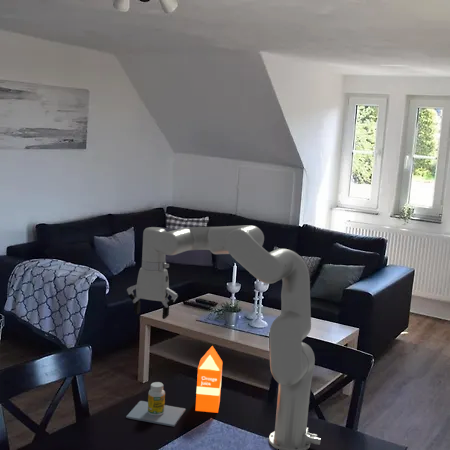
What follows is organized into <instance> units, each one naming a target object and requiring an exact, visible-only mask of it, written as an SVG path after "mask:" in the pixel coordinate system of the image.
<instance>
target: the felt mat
mask: <svg viewBox="0 0 450 450" xmlns="http://www.w3.org/2000/svg"><path fill="white" fill-rule="evenodd" d="M186 410H187V409H186V408H184V407H179V406H173V405H167V404H164V413H163V414H162V415H158V416H154V415H151V414H149V413H148V401H145V400H139V401H138V402H137V404H135V406H134V407H133V408H132V409H131V411H130V412H129V413H128V414H127V415H126V416H125V417H126V419H129V420H136V421H141V422H147V423H151V424H152V423H153V424H157V425H163V426H168V427H175V426H176V425H177V423H178V422H179V421H180V419H181V418H182V416H183V415H184V413H185V412H186Z"/></svg>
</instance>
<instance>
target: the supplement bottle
mask: <svg viewBox="0 0 450 450" xmlns="http://www.w3.org/2000/svg"><path fill="white" fill-rule="evenodd" d="M165 399H166V391H165V390H164V384H163V383H162V382H160V381H155V382H152V383H151V384H150V389H149V391H148V396H147V402H148V413H149V414H151V415H154V416H158V415H162V414H163V413H164V405H166V404H165V403H166V400H165Z"/></svg>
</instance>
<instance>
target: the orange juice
mask: <svg viewBox="0 0 450 450" xmlns="http://www.w3.org/2000/svg"><path fill="white" fill-rule="evenodd" d="M222 375H223V360H222V359H221V357H220V355H219V354H218V351H216V349H215V348H214V346H213V345H212V346H211V347H210V348H209V349H208V350H207V351H206V352H205V354H204V355H203V356H202V357H201V358H200V360H199V364H198V366H197V376H196V377H197V379H196V380H197V381H196V392H195V394H196V395H195V396H196V397H195V410H194V411H195V412H203V413H204V412H206V413H217V414H218V413H219V408H220V402H221V390H222V389H221V388H222V378H223V377H222Z"/></svg>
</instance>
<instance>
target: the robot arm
mask: <svg viewBox="0 0 450 450" xmlns="http://www.w3.org/2000/svg"><path fill="white" fill-rule="evenodd" d="M264 241H265V235H264V232H263V231H262V229H261V228H259V227H258V226H256V225H250V224H249V225H248V224H247V225H244V224H243V225H228V226H227V225H225V226H198V227H197V226H196V227H194V226H193V227H181V228H177V229H173V230H170V231H167V230H166V229H165V228H163V227H157V226H151V227H150V226H149V227H145V229H144V230H143V233H142V252H141V253H142V255H141V256H142V257H141V267H140V268H139V271H138V273H137V274H138V275H137V279H136V281H137V282H136V284H135V285H131V286H130V287H129V286H128V288H127V289H126V292H127V294H128V295H129V298H130V299H131V300H132V303H133V312H134V315H135V316H137V315H139V314H140V313H141V301H140V300H148V301H156V302H161V303H162V305H163V307H162V316H161V317H162V320H166V319H167V318H168V317H169V315H170V306H171V305H172V304H174V303H175V302H176V300H177V299H178V297H179V295H178V293H176V291H174V290H172V289H170V285H169V284H170V283H169V282H170V280H169V273H168V272H169V271H168V268H170V263H167V260H166V257H167V256H176V255H178V254H181V253H184V252H187V251H199V250H200V251H202V250H204V251H205V250H206V251H210V252H211V253H212V254H213V255H230V256H231V257H232V259H234V260H235V261H236V262H237V263H238V264H240V265H241V267H243V269H245V270H246V271H247V272H249V274H250V275H252V276H253V277H254V278H255V279H257V280H258V281H260V282H261V283H264V284H268V285H271V284H274V283H277V282H278V281H282V284H281V285H282V286H281V292H280V293H281V294H280V298H281V299H280V300H281V306H280V307H281V311H280V315H278V316H276V318H275V319H274V320H273V321H272V323H271V325H270V328H269V334H268V335H269V336H268V337H269V367H270V372H271V375H272V377H273V379H274V380H275V381H276V382H277V383H278V388H277V397H276V398H277V399H276V400H277V401H276V412H275V413H276V414H275V425H274V431H272V432H270V434H269V437H268V443H269V445H271V446H272V447H273V448H274V449H276V450H278V449H279V450H308V449H309V448H310V447H311V444H314V445H321V439H322V438H320V437H318V434H317V433H310V432H309V427H307V425H308V416H309V405H310V397H311V387H312V380H313V373H314V369H315V363H316V362H315V361H316V359H315V357H316V356H315V352H314V351H313V349H312V347H311V346H310V345H309V344H307V343H305V342H303V340H304V339H305V338H307V337H308V335H309V333H310V332H311V329H312V318H311V317H312V313H311V279H310V272H309V268H308V265H307V263H306V262H305V261H304V258H302V257H301V255H299V254H298V253H297V252H296V251H294V250H291V249H287V248H277V249H274V250H272V251H268V250H266V249H265V248H264V247H263V245H264ZM166 255H167V256H166ZM134 291H135V293H134ZM169 296H171V298H170V300H169V299H168V297H169Z"/></svg>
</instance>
